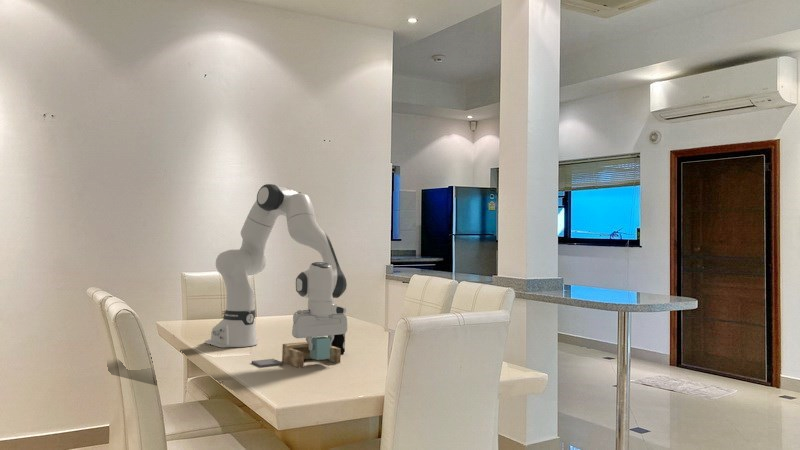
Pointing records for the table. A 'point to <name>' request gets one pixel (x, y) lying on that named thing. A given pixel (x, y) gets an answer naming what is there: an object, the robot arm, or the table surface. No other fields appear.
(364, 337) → the table surface
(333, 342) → the beverage can
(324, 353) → the block
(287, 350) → the wooden u-shaped holder
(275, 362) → the pad
